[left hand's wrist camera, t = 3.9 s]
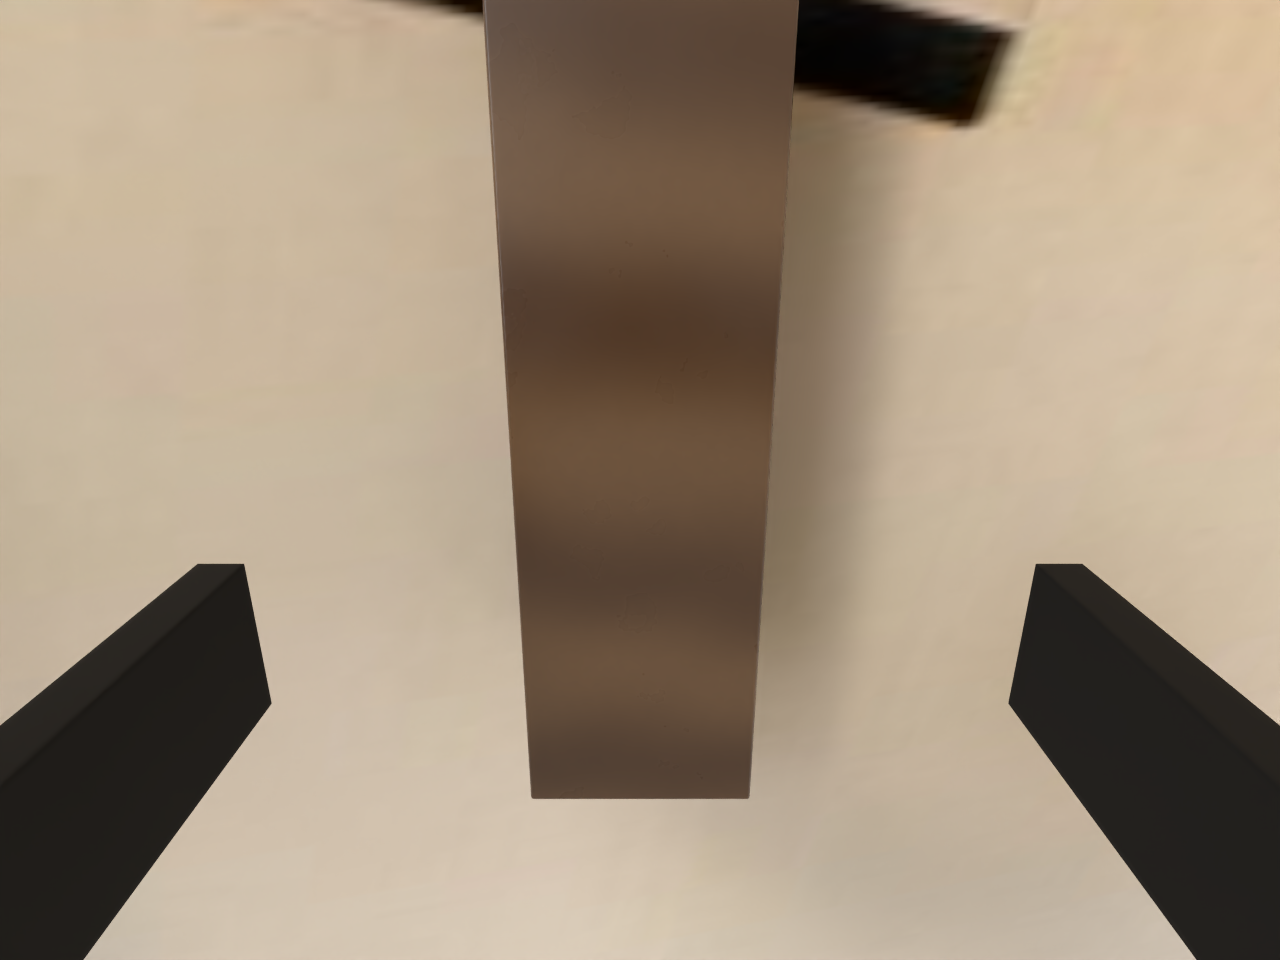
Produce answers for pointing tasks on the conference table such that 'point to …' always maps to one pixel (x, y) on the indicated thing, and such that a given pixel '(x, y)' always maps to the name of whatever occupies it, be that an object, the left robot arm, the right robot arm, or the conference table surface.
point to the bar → (640, 374)
